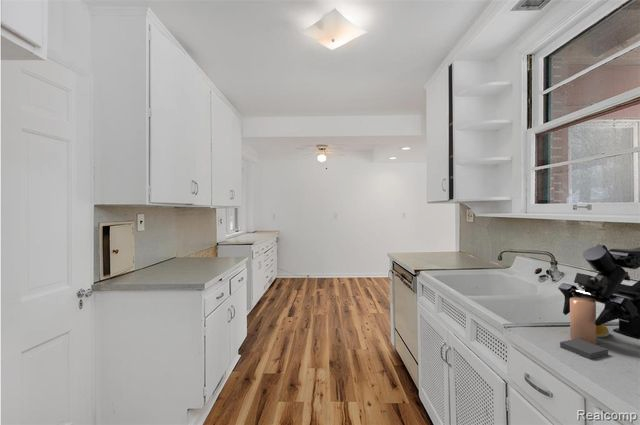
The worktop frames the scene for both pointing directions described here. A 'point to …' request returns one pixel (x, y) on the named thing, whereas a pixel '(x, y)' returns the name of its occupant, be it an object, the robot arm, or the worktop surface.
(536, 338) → the worktop surface
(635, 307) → the robot arm
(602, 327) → the bread roll
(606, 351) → the plate
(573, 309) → the peach cylinder
